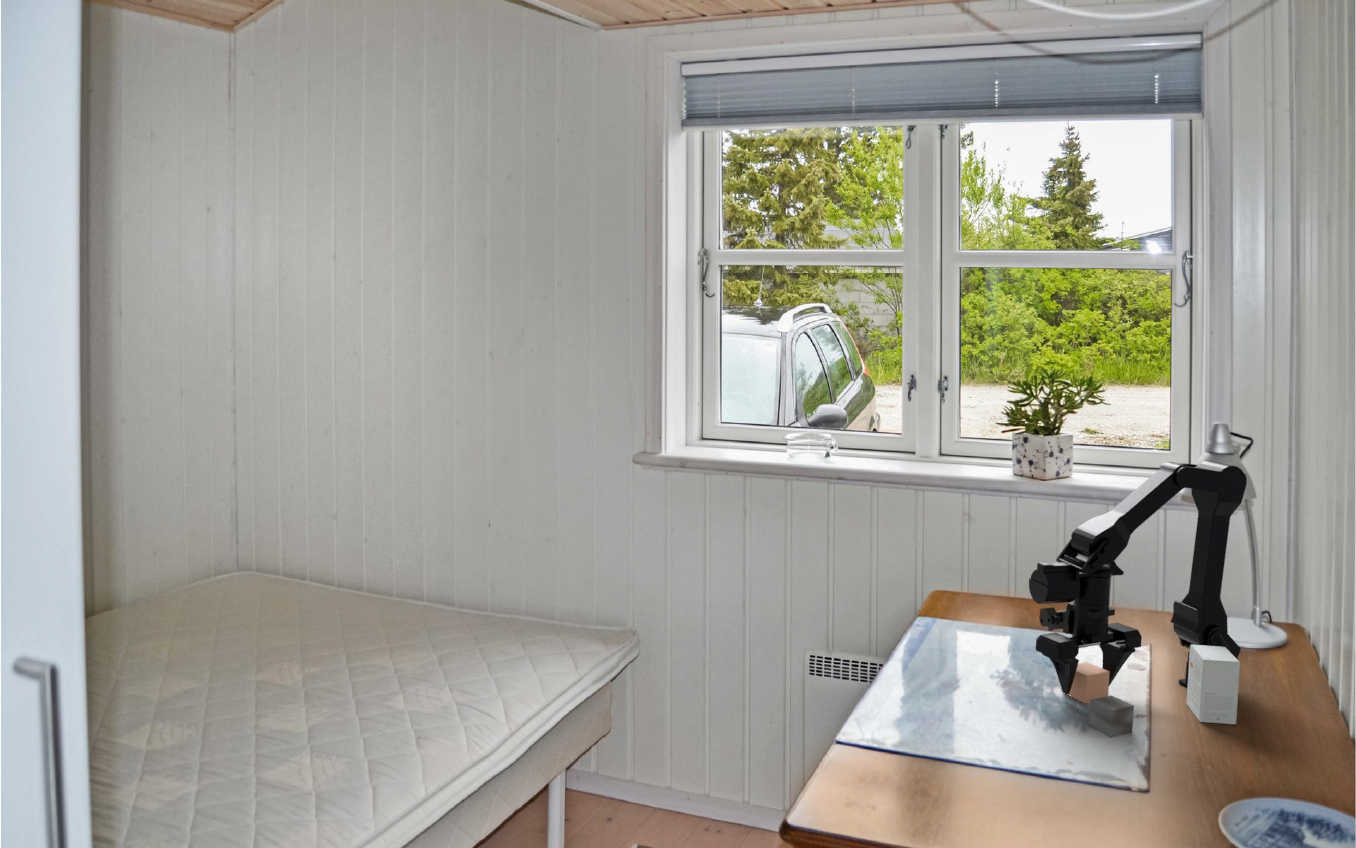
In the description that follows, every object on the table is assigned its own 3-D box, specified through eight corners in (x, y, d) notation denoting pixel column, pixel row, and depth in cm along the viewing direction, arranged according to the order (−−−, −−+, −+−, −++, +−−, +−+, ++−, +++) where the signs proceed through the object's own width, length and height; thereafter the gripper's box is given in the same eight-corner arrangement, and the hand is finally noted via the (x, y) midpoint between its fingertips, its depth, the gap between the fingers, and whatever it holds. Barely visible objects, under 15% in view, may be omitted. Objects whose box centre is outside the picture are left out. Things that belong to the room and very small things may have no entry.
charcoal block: (1109, 722, 171) (1111, 695, 170) (1132, 733, 167) (1133, 705, 166) (1088, 727, 169) (1090, 700, 168) (1110, 738, 165) (1112, 710, 164)
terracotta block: (1085, 690, 185) (1086, 662, 184) (1107, 700, 180) (1109, 671, 180) (1063, 694, 183) (1065, 666, 182) (1085, 704, 178) (1087, 675, 177)
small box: (1236, 726, 170) (1241, 662, 168) (1198, 722, 171) (1203, 659, 169) (1221, 707, 177) (1226, 646, 176) (1185, 704, 179) (1189, 643, 177)
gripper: (1095, 582, 190) (1090, 666, 192) (1014, 594, 183) (1010, 681, 185) (1146, 599, 180) (1140, 687, 182) (1063, 612, 173) (1057, 704, 175)
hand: (1086, 689), depth 181 cm, fingers open, 9 cm apart
